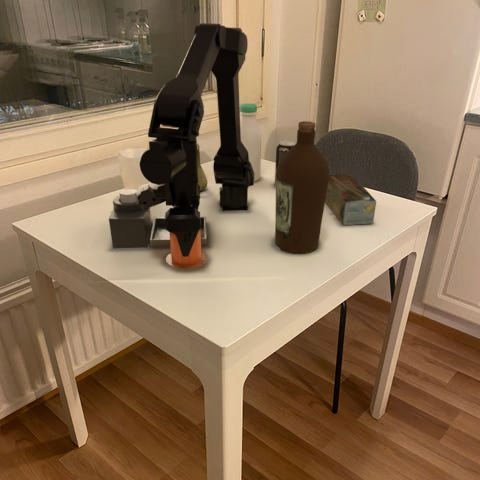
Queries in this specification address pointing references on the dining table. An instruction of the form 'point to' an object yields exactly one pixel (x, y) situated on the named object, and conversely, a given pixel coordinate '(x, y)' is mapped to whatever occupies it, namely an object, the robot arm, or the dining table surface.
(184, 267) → the cork coaster
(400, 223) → the dining table surface
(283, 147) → the beverage can
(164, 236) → the drip tray
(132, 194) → the button
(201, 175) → the green gourd vase
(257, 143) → the milk bottle
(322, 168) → the olive oil
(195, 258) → the orange cup
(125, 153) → the cup
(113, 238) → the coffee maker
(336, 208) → the beverage carton
